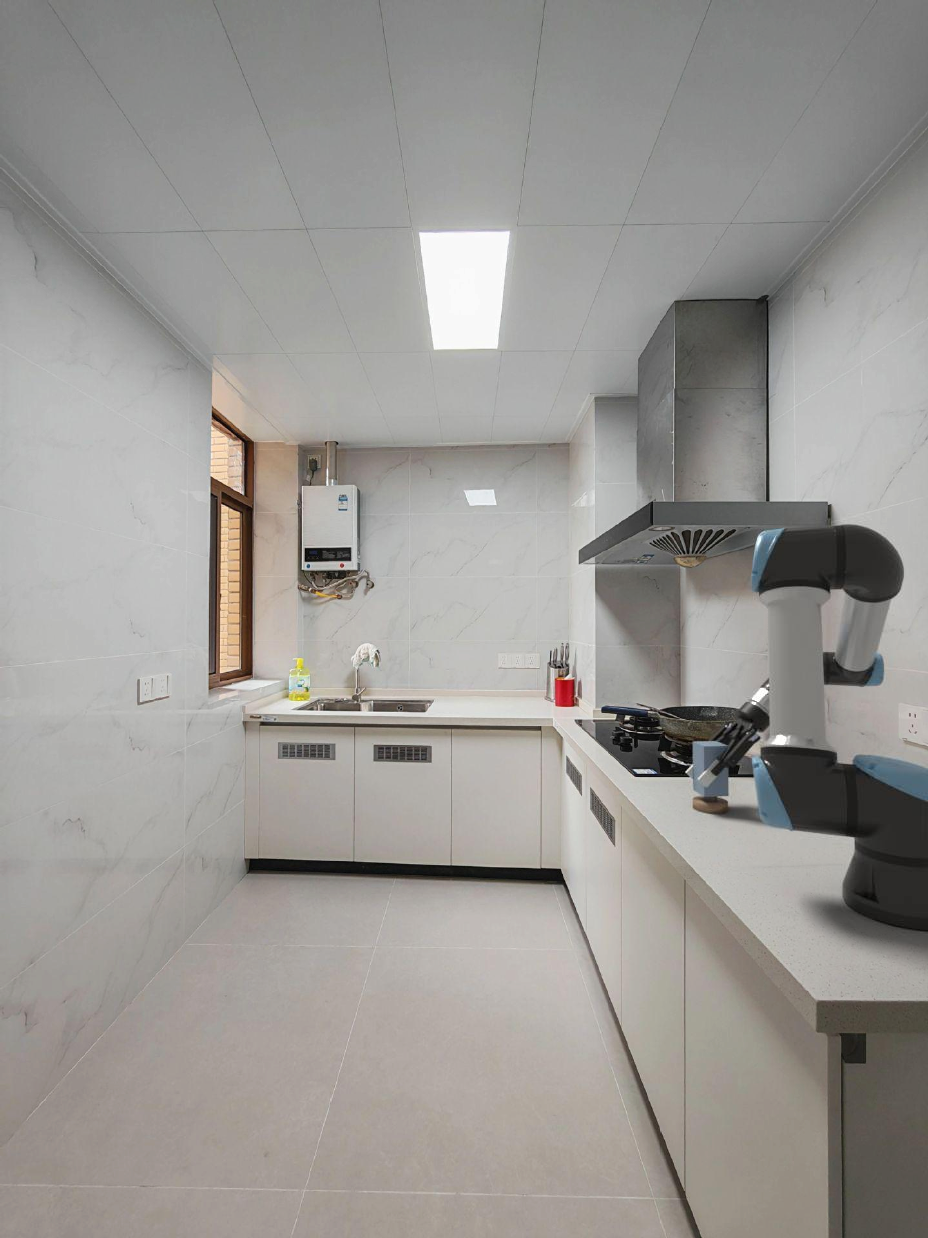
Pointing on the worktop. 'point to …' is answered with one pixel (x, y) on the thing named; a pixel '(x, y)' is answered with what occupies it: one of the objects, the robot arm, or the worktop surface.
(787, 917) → the worktop surface
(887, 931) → the worktop surface
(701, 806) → the post stand
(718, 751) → the upright blue pillar
